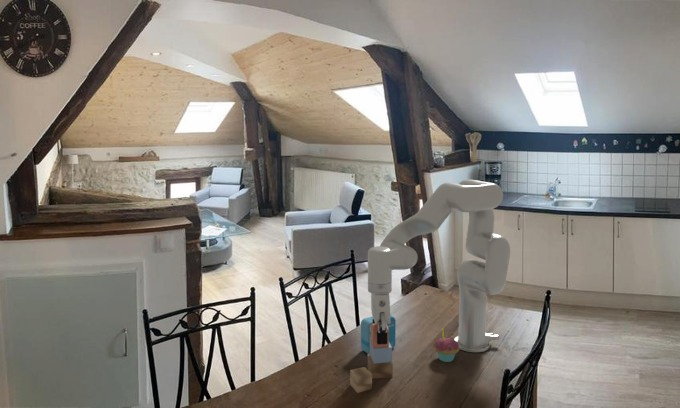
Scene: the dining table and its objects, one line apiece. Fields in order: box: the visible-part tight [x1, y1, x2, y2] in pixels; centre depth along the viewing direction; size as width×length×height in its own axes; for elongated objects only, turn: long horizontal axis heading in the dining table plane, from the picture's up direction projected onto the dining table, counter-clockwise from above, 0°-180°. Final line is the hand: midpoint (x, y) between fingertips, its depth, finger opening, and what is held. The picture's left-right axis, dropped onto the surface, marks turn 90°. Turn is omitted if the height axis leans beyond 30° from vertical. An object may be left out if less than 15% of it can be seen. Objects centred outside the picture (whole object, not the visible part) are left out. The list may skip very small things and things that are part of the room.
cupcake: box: [433, 327, 460, 363], centre depth 169 cm, size 9×8×12 cm
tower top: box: [370, 341, 393, 364], centre depth 160 cm, size 6×6×5 cm
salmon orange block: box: [371, 323, 389, 348], centre depth 159 cm, size 5×5×6 cm
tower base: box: [367, 354, 394, 380], centre depth 161 cm, size 7×7×5 cm
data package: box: [360, 314, 397, 355], centre depth 176 cm, size 12×4×12 cm, turn 120°
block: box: [349, 366, 373, 394], centre depth 153 cm, size 5×5×5 cm
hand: (379, 336), depth 159 cm, fingers open, 9 cm apart
